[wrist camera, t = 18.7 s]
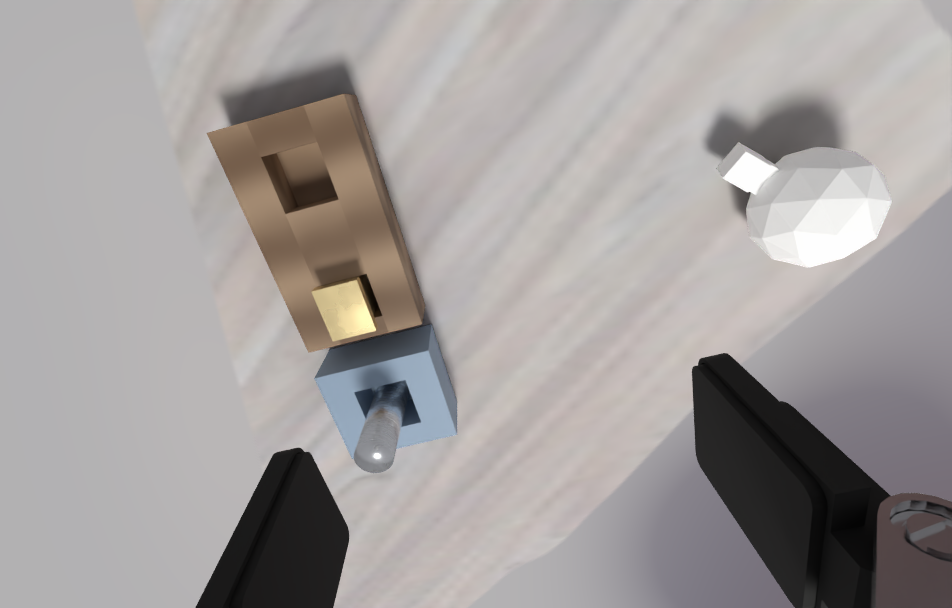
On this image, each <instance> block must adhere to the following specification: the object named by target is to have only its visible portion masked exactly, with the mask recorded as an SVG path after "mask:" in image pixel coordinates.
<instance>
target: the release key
mask: <svg viewBox="0 0 952 608" xmlns="http://www.w3.org/2000/svg"><path fill="white" fill-rule="evenodd" d="M311 292H312V295H313V297H314V299H315V302H316V304H317V306H318V308H319V311H320V313H321V315H322V318H323V320H324V322H325V325H326V327H327V329H328V331H329V334H330V336H331V338H332V341H337V340H341V339H345V338H349V337H353V336H357V335H361V334H365V333H369V332H373V331H376V330H377V327H378V325H377V323H376V320H375V317H374V315H373V314H374V312H375V309H376V307H377V305H378V303H377V300H376V297H375V295H374V292H373V289H372V287H371V284H370V281H369V279H368V276H367V274H364V275H360V276H356V277H352V278H348V279H345V280H341V281H337V282H333V283H330V284H327V285H323V286H319V287H316V288H314V289H313V290H312V291H311Z"/></svg>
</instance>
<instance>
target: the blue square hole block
mask: <svg viewBox="0 0 952 608" xmlns="http://www.w3.org/2000/svg"><path fill="white" fill-rule="evenodd" d="M314 379H315V381H316V383H317V385H318V387H319V389H320V392H321V394H322V396H323V398H324V400H325V402H326V404H327V406H328V409H329V411H330V413H331V415H332V417H333V419H334V421H335V423H336V426H337V428H338V430H339V432H340V434H341V436H342V438H343V440H344V443H345V445H346V447H347V449H348V451H349V453H350V455H351V457H352V459H354V452H355V449H356V446H357V443H358V440H359V437H360V434H361V432H362V429H363V426H364V423H365V420H366V417H367V414H368V411H369V409H370V406H371V403H372V400H373V397H374V394H375V391H376V388H377V387H378V386H382V385H386V384H390V383H395V382H399V381H403V380H406V383H407V386H408V388H409V395H408V399H407V404H406V408H405V412H404V417H403V421H402V425H401V430H400V434H399V439H398V443H397V447H396V449H397V448H402V447H406V446H410V445H415V444H419V443H423V442H427V441H432V440H436V439H440V438H445V437H449V436H453V435H457V400H456V397H455V394H454V391H453V388H452V385H451V382H450V379H449V376H448V373H447V370H446V367H445V364H444V361H443V358H442V355H441V351H440V348H439V345H438V342H437V339H436V336H435V333H434V330H433V327H432V324H431V325H427V326H423V327H419V328H415V329H411V330H407V331H403V332H399V333H395V334H391V335H387V336H383V337H379V338H375V339H370V340H366V341H362V342H358V343H354V344H350V345H346V346H342V347H338V348H334V349H330V350H329V352H328V354H327V356H326V358H325V359H324V361H323V363H322V365H321V367H320V369H319V371H318V373H317V375H316V376H315V378H314Z"/></svg>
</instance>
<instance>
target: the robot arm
mask: <svg viewBox="0 0 952 608" xmlns="http://www.w3.org/2000/svg"><path fill="white" fill-rule="evenodd" d="M692 381H693V403H694V425H695V445H696V446H695V447H696V456H697V460H698V463H699V465H700V467H701V469H702V470H703V472H704V473H705V475H706V476H707V478H708V479H709V481H710V482H711V484H712V485H713V487H714V488H715V490H716V491H717V493H718V494H719V496H720V497H721V499H722V500H723V502H724V503H725V505H726V506H727V508H728V509H729V511H730V512H731V514H732V515H733V517H734V518H735V520H736V521H737V523H738V524H739V526H740V527H741V529H742V530H743V532H744V533H745V535H746V536H747V538H748V539H749V541H750V542H751V544H752V545H753V547H754V548H755V550H756V551H757V553H758V554H759V556H760V557H761V558H762V560H763V561H764V563H765V565H766V566H767V568H768V569H769V571H770V572H771V574H772V575H773V576H774V578H775V580H776V581H777V583H778V584H779V585H780V587H781V589H782V590H783V591H784V593H785V595H786V596H787V598H788V599H789V601H790V602H791V603H792V604H793V606H794V607H795V608H952V502H951V501H948V500H945V499H942V498H939V497H936V496H932V495H926V494H920V493H900V494H897V495H893V496H890V495H889V494H888V493H887V492H886V491H885V490H883V488H881V487H880V486H879V485H878V484H877V483H876V482H875V481H874V480H873V479H872V478H870V477H869V476H868V475H867V474H866V473H865V472H864V471H863V470H862V469H861V468H859V467H858V466H857V465H856V464H855V463H854V462H853V461H852V460H851V459H849V458H848V457H847V456H846V455H845V454H844V453H843V452H842V451H841V450H840V449H839V448H837V447H836V446H835V445H834V444H833V443H832V442H831V441H830V440H829V439H827V438H826V437H825V436H824V435H823V434H822V433H821V432H820V431H819V430H818V429H817V428H815V427H814V426H813V425H812V424H811V423H810V422H809V421H808V420H807V419H805V418H804V417H803V416H802V415H801V414H800V413H799V412H798V411H797V410H796V409H795V408H794V407H792V406H791V405H789V404H788V403H786V402H782V401H781V402H779V401H778V400H777V399H776V398H775V397H774V396H773V395H772V394H771V393H770V392H769V391H768V390H767V389H765V388H764V387H763V386H762V385H761V384H760V383H759V382H758V381H757V380H756V379H755V378H754V377H752V375H750V374H749V373H748V372H747V371H746V370H745V369H744V368H743V367H742V366H741V365H740V364H739V363H738V362H736V361H735V360H734V359H733V358H732V357H731V356H730V355H728V354H727V353H723V354H718V355H714V356H709V357H705V358H701V359H700V360H699V363H698V366H694V367H693V369H692ZM348 543H349V530H348V527H347V524H346V522H345V520H344V518H343V516H342V514H341V512H340V510H339V508H338V506H337V504H336V502H335V501H334V499H333V497H332V495H331V493H330V491H329V489H328V487H327V485H326V483H325V481H324V479H323V477H322V475H321V473H320V471H319V469H318V467H317V465H316V463H315V461H314V459H313V457H312V455H311V454H310V453H309V452H304V451H303V450H302V449H301V448H294V449H290V450H285V451H281V452H277V453H275V454H274V455H273V456H272V458H271V460H270V462H269V464H268V466H267V468H266V470H265V472H264V474H263V476H262V478H261V480H260V482H259V484H258V485H257V488H256V489H255V491H254V493H253V496H252V497H251V500H250V501H249V503H248V505H247V507H246V509H245V511H244V513H243V515H242V517H241V519H240V521H239V523H238V525H237V527H236V529H235V531H234V533H233V535H232V537H231V539H230V541H229V543H228V545H227V547H226V549H225V551H224V552H223V554H222V556H221V558H220V560H219V562H218V564H217V566H216V568H215V570H214V572H213V574H212V576H211V578H210V580H209V582H208V584H207V586H206V588H205V590H204V592H203V594H202V596H201V598H200V600H199V602H198V604H197V606H196V608H333V606H334V602H335V598H336V594H337V589H338V585H339V581H340V577H341V573H342V568H343V564H344V560H345V556H346V551H347V547H348Z"/></svg>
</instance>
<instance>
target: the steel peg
mask: <svg viewBox="0 0 952 608" xmlns="http://www.w3.org/2000/svg"><path fill="white" fill-rule="evenodd" d="M408 395H409V388H408V386H407V383H406V380H403V381H399V382H395V383H390V384H386V385H382V386H378V387H377V388H376V391H375V394H374V397H373V400H372V403H371V406H370V409H369V411H368V414H367V417H366V420H365V423H364V426H363V429H362V432H361V434H360V437H359V440H358V443H357V446H356V449H355V452H354V460H355V463H356V464H357V465H358V466H359V467H360V468H361V469H363V470H364V471H367V472H371V473H380V472H383V471H386V470H387V469H389V468H390V467H391V465H392V464H393V461H394V456H395V452H396V447H397V443H398V439H399V434H400V430H401V425H402V421H403V417H404V412H405V408H406V404H407V399H408Z"/></svg>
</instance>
